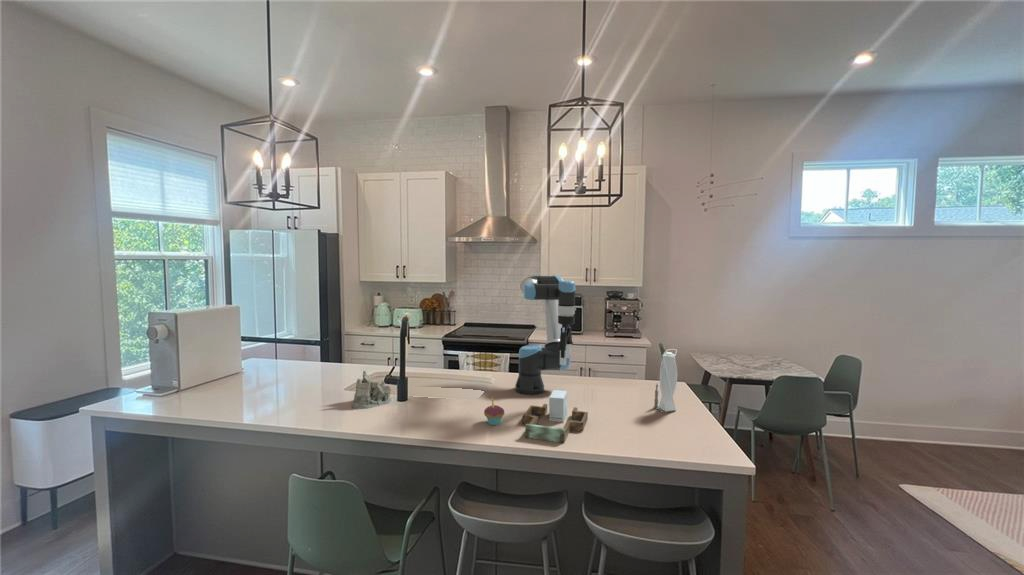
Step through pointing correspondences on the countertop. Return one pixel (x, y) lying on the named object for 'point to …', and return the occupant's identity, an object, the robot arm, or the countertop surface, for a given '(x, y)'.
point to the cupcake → (494, 414)
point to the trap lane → (551, 432)
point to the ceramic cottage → (370, 393)
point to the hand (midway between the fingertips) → (565, 361)
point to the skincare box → (558, 406)
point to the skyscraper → (667, 382)
